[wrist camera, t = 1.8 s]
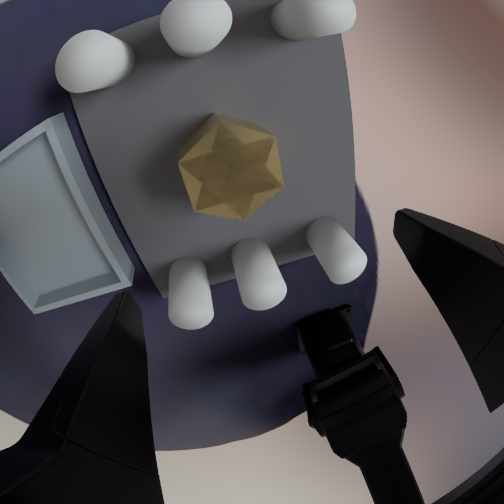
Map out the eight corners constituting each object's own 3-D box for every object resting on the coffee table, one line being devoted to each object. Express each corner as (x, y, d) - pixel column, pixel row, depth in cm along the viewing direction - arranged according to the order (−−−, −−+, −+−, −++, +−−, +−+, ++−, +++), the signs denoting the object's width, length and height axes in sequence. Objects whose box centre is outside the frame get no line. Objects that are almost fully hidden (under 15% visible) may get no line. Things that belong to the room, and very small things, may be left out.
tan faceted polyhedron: (271, 185, 18) (287, 209, 16) (199, 205, 18) (201, 233, 15) (254, 102, 15) (270, 109, 12) (172, 124, 15) (169, 136, 12)
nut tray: (135, 268, 20) (132, 285, 19) (40, 298, 20) (34, 314, 18) (63, 111, 12) (49, 117, 11) (-31, 181, 12) (-45, 192, 10)
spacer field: (352, 239, 23) (380, 274, 20) (163, 295, 23) (162, 341, 19) (329, -5, 11) (372, -20, 7) (62, 58, 10) (22, 58, 6)
